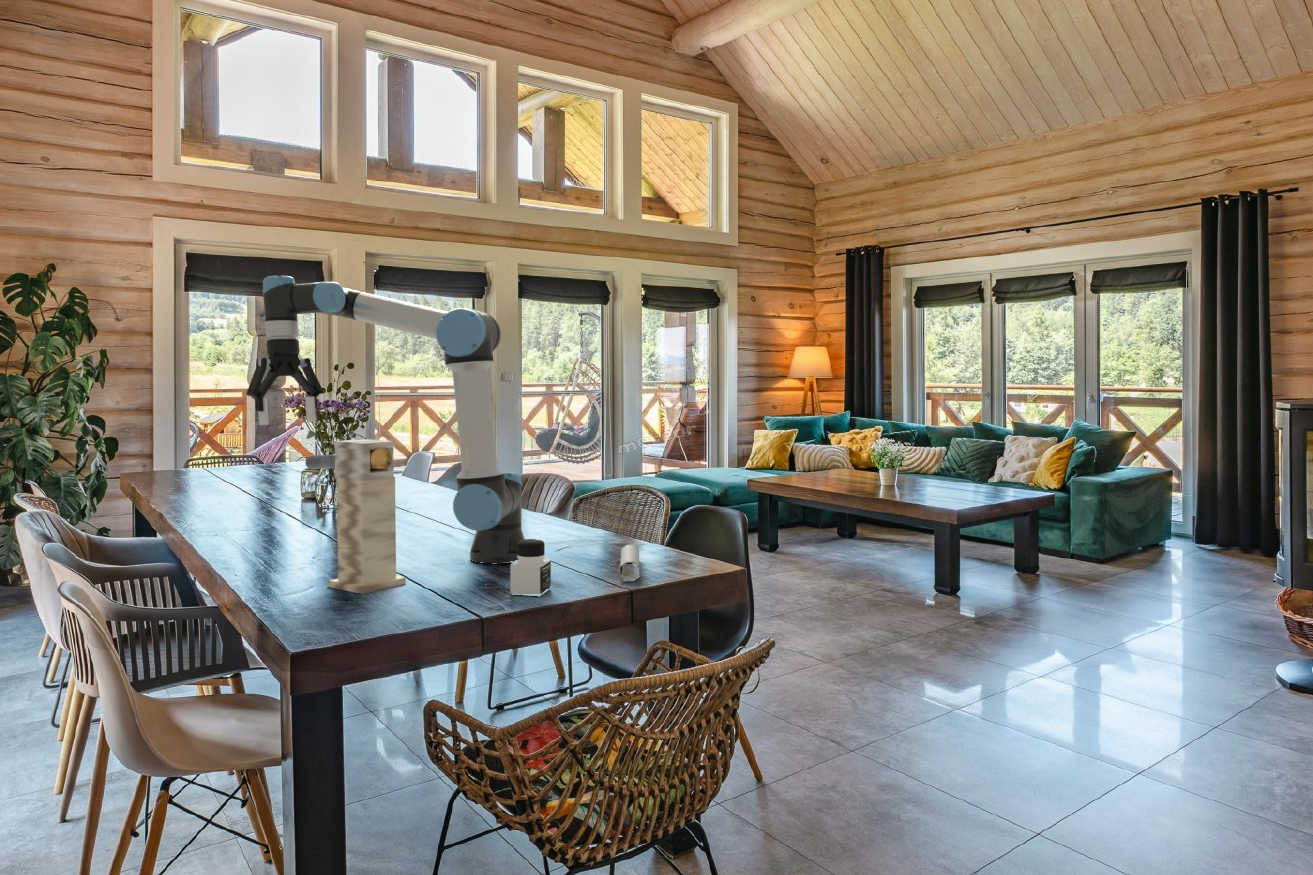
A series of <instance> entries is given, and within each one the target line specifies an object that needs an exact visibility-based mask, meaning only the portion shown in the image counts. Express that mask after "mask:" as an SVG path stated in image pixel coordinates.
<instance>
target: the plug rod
mask: <svg viewBox="0 0 1313 875" xmlns="http://www.w3.org/2000/svg"><path fill="white" fill-rule="evenodd" d="M391 462H392V455H391V453H390V451H389V450H387V449H373V450H370V469H381V468H387V467H389V466H390V465H391ZM305 466H306V468H307V469H309V470H321V469H322V470H323V469H335V453H334V454H321V455H308V456H307V457H306V459H305Z"/></svg>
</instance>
